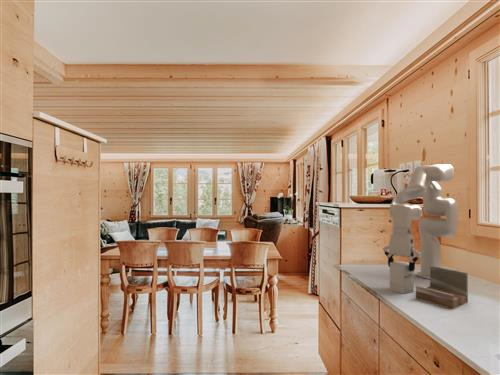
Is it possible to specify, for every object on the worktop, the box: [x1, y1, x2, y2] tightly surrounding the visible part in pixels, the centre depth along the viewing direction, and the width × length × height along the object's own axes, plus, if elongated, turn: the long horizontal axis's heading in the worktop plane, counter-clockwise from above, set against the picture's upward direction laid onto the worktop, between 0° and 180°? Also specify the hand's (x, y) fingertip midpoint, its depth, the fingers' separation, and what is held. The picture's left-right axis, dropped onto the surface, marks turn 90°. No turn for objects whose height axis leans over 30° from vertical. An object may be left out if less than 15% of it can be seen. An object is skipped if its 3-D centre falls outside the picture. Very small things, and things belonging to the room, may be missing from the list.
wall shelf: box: [415, 266, 469, 309], centre depth 128 cm, size 14×14×12 cm
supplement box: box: [389, 260, 415, 295], centre depth 140 cm, size 7×7×13 cm
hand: (400, 268), depth 139 cm, fingers open, 9 cm apart
